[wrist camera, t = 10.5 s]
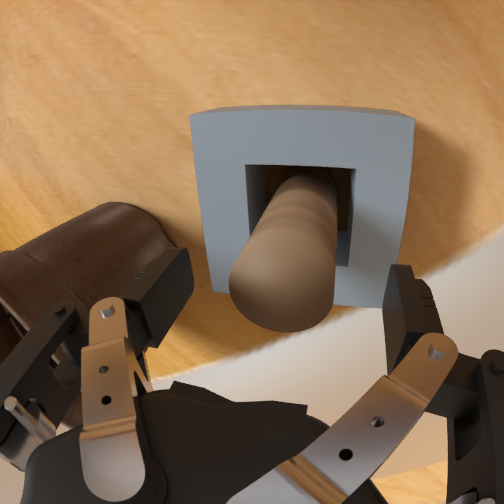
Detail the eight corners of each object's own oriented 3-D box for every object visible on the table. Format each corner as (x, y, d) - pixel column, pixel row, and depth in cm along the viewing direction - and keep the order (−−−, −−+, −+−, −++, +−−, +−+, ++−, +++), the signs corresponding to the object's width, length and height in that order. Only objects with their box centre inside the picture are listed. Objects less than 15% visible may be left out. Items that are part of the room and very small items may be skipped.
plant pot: (60, 174, 27) (-66, 252, 13) (200, 182, 23) (46, 318, 10) (91, 299, 35) (12, 389, 21) (208, 333, 32) (140, 466, 18)
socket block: (220, 107, 20) (189, 114, 16) (396, 111, 17) (414, 118, 13) (233, 255, 26) (212, 291, 22) (380, 267, 23) (386, 308, 19)
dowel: (280, 161, 21) (223, 242, 11) (338, 164, 20) (339, 251, 10) (282, 214, 23) (233, 325, 13) (336, 217, 22) (328, 337, 12)
